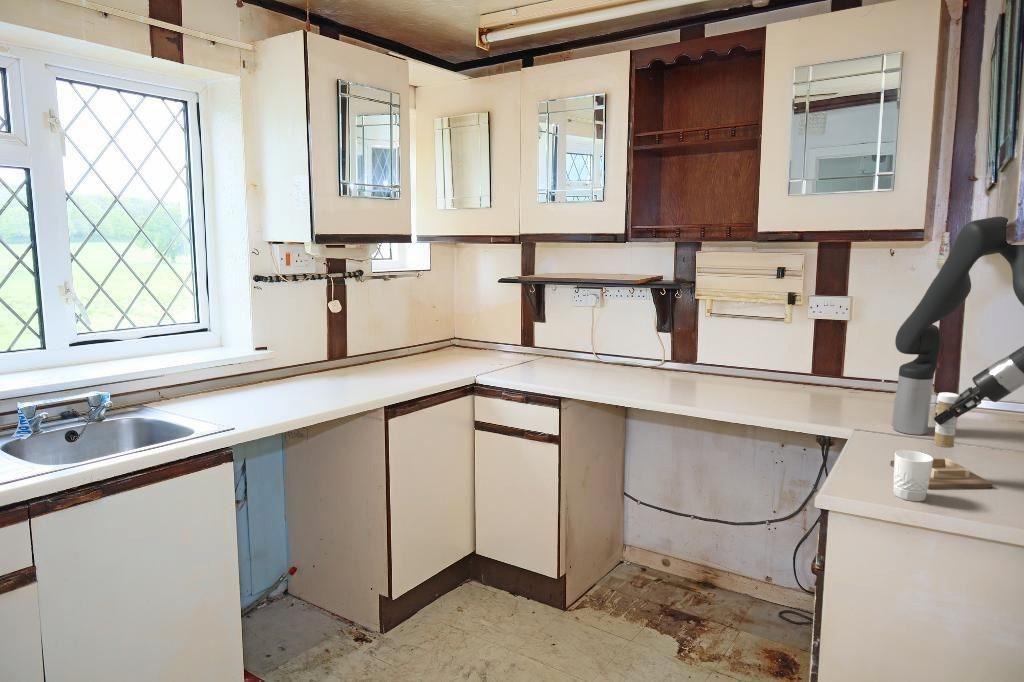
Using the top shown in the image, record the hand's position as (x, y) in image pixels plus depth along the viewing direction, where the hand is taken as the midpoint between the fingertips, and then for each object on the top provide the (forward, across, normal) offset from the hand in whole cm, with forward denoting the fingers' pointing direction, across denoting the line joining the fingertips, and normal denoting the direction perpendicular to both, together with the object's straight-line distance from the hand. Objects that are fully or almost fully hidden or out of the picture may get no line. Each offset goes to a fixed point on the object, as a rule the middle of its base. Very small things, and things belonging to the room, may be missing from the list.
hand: (937, 419), depth 173 cm
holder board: (+9, 0, +12) cm, 15 cm away
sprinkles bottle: (+3, 0, +6) cm, 7 cm away
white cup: (+13, +18, +8) cm, 24 cm away
